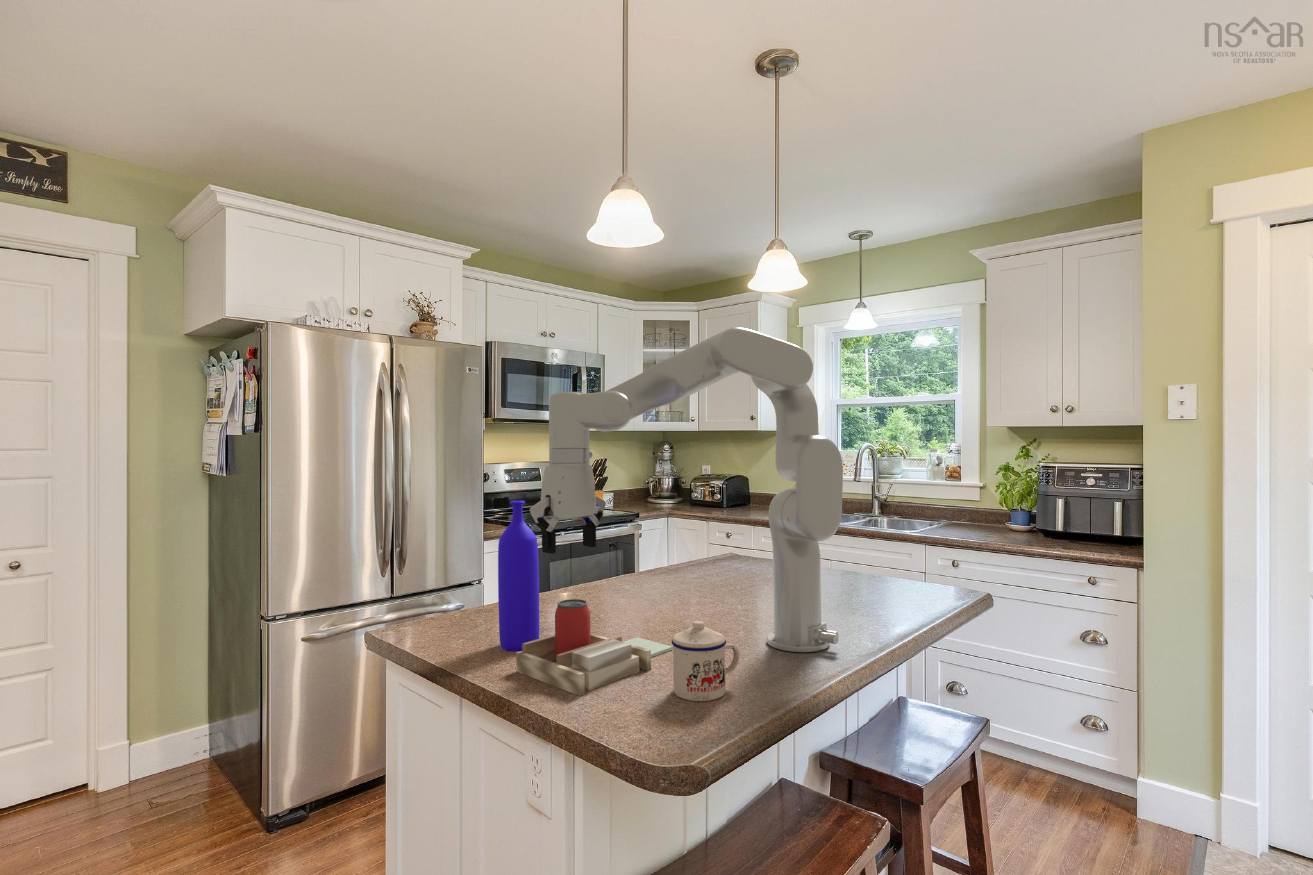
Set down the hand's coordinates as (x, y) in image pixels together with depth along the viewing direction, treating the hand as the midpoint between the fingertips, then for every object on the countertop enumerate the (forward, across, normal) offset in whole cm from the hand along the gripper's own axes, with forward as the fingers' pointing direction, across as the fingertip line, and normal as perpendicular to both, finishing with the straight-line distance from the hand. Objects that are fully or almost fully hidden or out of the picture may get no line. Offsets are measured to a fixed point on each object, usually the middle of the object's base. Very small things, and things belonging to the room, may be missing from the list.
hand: (569, 549), depth 124 cm
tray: (+22, 0, +3) cm, 22 cm away
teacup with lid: (+22, -8, +27) cm, 35 cm away
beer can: (+22, 0, 0) cm, 22 cm away
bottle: (+22, -2, -18) cm, 29 cm away
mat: (+22, -15, +3) cm, 27 cm away
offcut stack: (+22, -1, +9) cm, 24 cm away
